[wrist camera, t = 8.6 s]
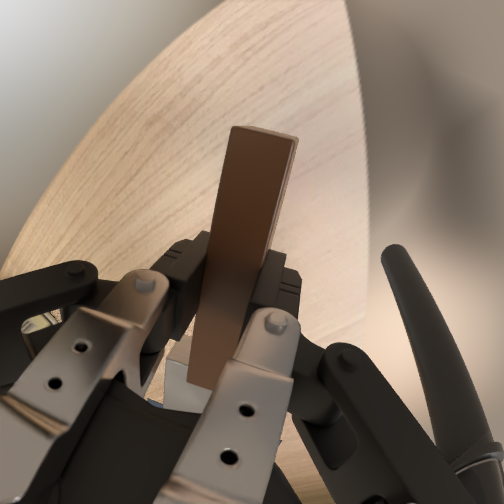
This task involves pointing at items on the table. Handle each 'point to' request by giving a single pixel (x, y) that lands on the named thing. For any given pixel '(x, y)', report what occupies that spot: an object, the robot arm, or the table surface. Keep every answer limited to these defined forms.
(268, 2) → the table surface
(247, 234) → the brown and grey bar
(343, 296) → the table surface
